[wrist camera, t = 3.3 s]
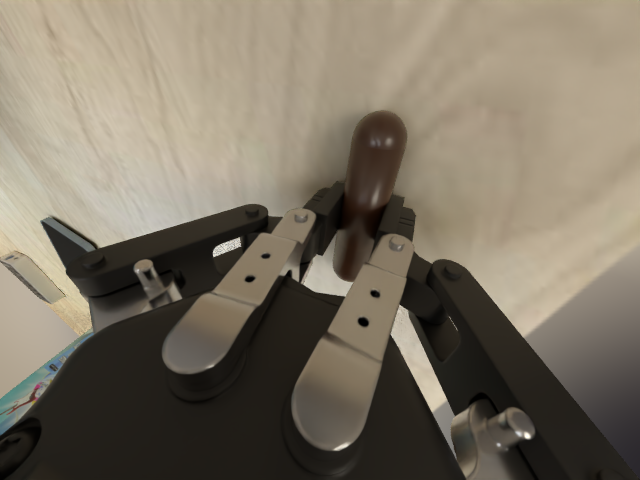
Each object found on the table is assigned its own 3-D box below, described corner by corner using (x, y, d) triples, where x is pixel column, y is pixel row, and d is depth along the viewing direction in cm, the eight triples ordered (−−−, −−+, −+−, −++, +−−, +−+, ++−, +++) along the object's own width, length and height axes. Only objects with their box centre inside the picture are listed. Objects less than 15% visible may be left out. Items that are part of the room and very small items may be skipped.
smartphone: (71, 280, 38) (36, 216, 28) (78, 276, 39) (46, 212, 29) (110, 306, 38) (90, 252, 28) (116, 301, 39) (98, 247, 29)
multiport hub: (53, 290, 51) (39, 298, 49) (13, 250, 44) (-4, 258, 42) (66, 296, 49) (52, 305, 48) (27, 256, 43) (10, 264, 41)
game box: (173, 341, 40) (-101, 633, 19) (190, 362, 43) (-28, 629, 23) (103, 316, 48) (-144, 505, 27) (122, 336, 51) (-84, 517, 31)
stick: (356, 103, 10) (358, 114, 8) (408, 108, 10) (421, 120, 8) (331, 261, 16) (329, 287, 14) (364, 265, 16) (367, 291, 14)
